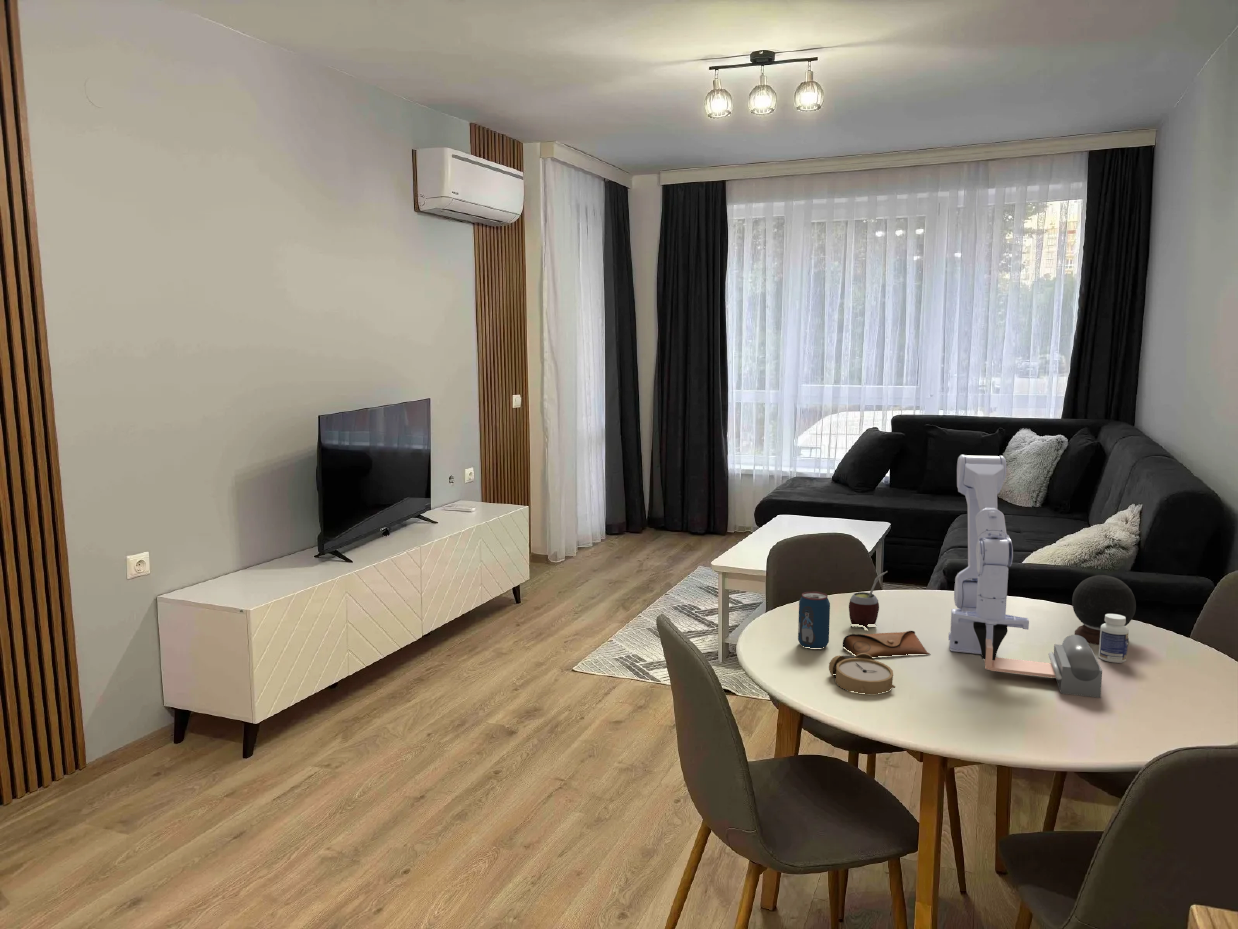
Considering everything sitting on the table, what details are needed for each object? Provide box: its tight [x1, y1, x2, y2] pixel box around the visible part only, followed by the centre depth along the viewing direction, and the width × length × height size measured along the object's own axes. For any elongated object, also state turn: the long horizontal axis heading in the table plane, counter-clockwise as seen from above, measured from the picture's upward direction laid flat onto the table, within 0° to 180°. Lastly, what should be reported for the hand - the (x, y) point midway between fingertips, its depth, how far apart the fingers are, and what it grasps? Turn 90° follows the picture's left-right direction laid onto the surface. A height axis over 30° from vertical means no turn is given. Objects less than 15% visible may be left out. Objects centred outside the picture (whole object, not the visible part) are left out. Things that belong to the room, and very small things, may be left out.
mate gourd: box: [848, 570, 888, 628], centre depth 218 cm, size 8×8×15 cm
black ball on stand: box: [1071, 574, 1137, 646], centre depth 209 cm, size 13×13×15 cm
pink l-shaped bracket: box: [983, 639, 1056, 679], centre depth 186 cm, size 14×7×5 cm, turn 70°
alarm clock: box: [828, 653, 896, 694], centre depth 184 cm, size 11×5×15 cm
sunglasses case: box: [842, 630, 931, 657], centre depth 202 cm, size 18×7×7 cm
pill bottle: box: [1098, 614, 1129, 664], centre depth 196 cm, size 5×5×10 cm
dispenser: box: [1048, 634, 1103, 699], centre depth 182 cm, size 8×14×8 cm, turn 160°
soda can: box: [797, 591, 831, 648], centre depth 205 cm, size 7×7×12 cm
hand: (988, 658), depth 188 cm, fingers closed on pink l-shaped bracket
